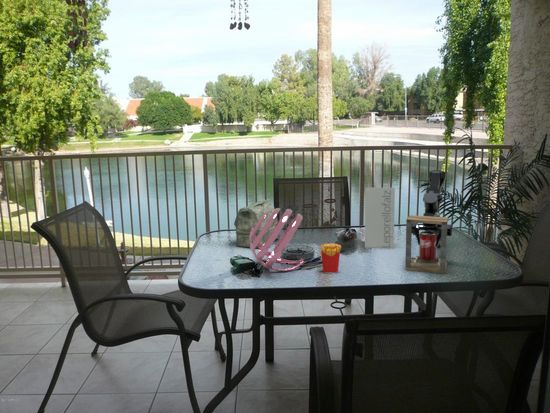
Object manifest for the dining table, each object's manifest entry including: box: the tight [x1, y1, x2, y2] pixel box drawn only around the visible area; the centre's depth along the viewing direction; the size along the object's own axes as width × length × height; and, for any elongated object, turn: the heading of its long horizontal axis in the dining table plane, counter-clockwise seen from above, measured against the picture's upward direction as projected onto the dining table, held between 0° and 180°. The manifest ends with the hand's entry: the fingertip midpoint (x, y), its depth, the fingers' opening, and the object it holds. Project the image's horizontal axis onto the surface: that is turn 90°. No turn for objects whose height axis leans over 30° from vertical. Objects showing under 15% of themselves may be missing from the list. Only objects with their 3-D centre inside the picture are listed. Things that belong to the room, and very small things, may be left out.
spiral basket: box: [249, 207, 305, 272], centre depth 201 cm, size 28×28×27 cm
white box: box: [364, 187, 396, 249], centre depth 229 cm, size 14×6×30 cm, turn 76°
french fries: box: [320, 243, 342, 274], centre depth 195 cm, size 8×4×12 cm, turn 85°
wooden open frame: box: [404, 214, 449, 275], centre depth 196 cm, size 16×16×22 cm
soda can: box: [418, 230, 438, 261], centre depth 199 cm, size 7×7×12 cm
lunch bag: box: [233, 199, 280, 249], centre depth 245 cm, size 26×18×22 cm
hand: (427, 245), depth 198 cm, fingers closed on soda can, 7 cm apart
